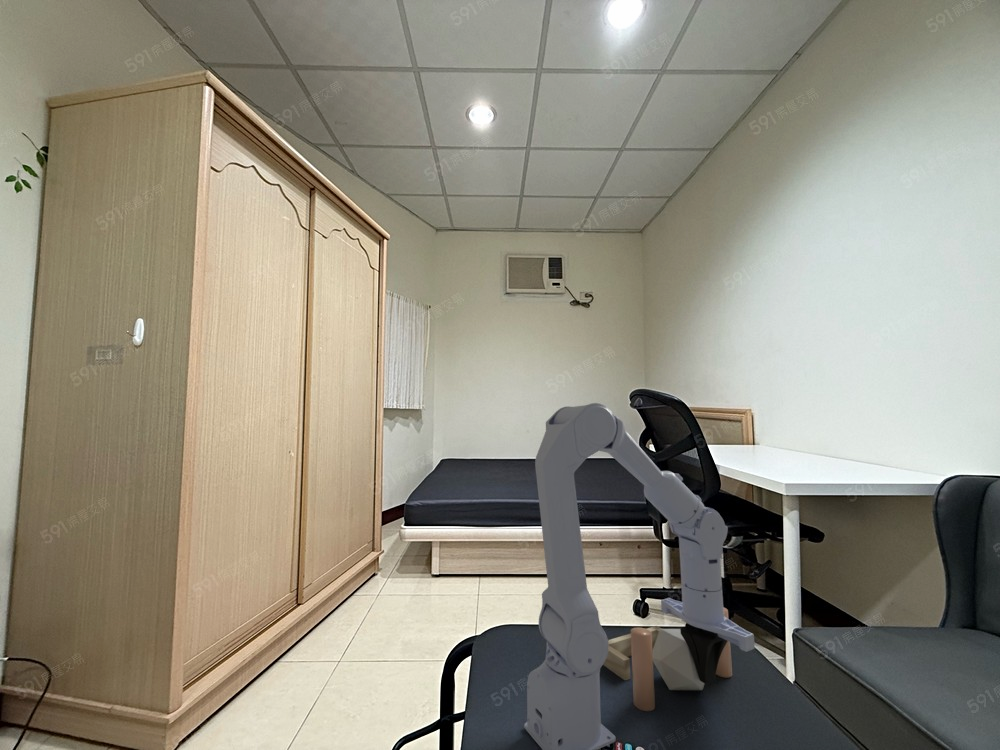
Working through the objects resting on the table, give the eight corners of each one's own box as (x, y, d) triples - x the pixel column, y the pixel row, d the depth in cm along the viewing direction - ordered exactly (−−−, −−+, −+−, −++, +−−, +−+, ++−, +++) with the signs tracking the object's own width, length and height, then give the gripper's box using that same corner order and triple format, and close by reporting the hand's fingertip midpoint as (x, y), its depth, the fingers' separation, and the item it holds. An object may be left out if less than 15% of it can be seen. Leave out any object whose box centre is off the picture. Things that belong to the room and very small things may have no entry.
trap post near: (644, 713, 60) (641, 638, 61) (629, 701, 63) (626, 630, 64) (659, 707, 61) (656, 634, 63) (643, 695, 64) (640, 625, 65)
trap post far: (724, 679, 68) (720, 614, 70) (708, 670, 71) (704, 607, 72) (736, 674, 70) (731, 610, 71) (719, 665, 72) (715, 604, 74)
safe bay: (624, 680, 68) (624, 660, 68) (598, 661, 74) (597, 643, 74) (685, 658, 75) (684, 640, 75) (656, 642, 80) (656, 625, 81)
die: (707, 714, 61) (728, 647, 65) (651, 676, 63) (674, 613, 67) (686, 702, 68) (705, 643, 72) (636, 668, 70) (658, 612, 74)
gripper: (764, 596, 60) (772, 699, 59) (679, 567, 73) (684, 651, 71) (733, 605, 57) (740, 715, 55) (650, 574, 70) (654, 662, 68)
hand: (707, 680), depth 63 cm, fingers closed
